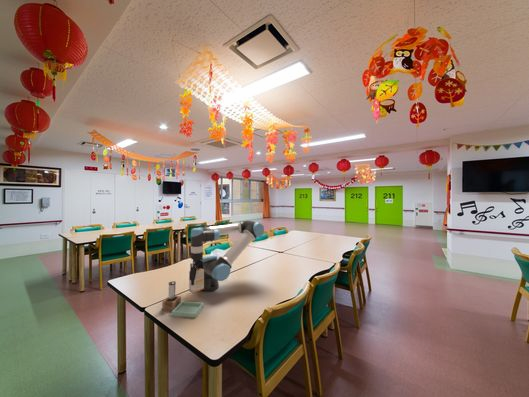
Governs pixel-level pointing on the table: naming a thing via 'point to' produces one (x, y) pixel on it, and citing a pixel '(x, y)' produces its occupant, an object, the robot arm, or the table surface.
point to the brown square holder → (171, 303)
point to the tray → (188, 309)
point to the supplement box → (198, 280)
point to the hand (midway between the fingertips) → (196, 286)
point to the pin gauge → (171, 291)
